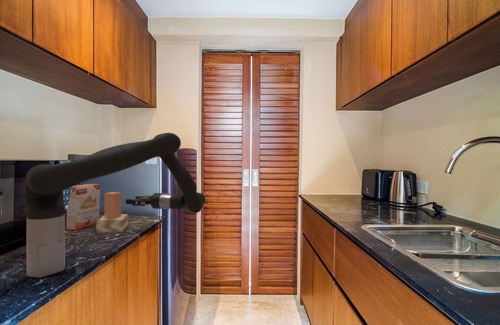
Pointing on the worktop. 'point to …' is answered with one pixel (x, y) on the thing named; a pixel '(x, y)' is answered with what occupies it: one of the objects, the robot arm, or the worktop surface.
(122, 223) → the birch base block
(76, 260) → the worktop surface
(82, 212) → the cracker box
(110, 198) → the orange block
